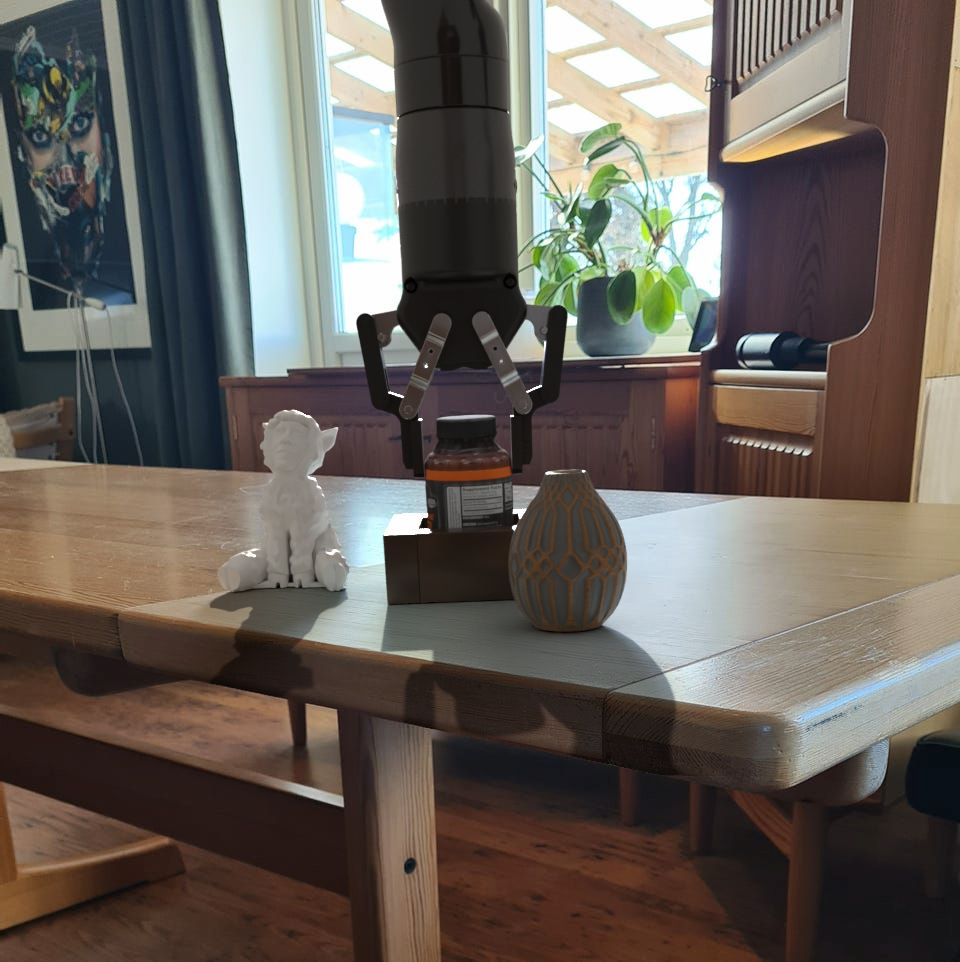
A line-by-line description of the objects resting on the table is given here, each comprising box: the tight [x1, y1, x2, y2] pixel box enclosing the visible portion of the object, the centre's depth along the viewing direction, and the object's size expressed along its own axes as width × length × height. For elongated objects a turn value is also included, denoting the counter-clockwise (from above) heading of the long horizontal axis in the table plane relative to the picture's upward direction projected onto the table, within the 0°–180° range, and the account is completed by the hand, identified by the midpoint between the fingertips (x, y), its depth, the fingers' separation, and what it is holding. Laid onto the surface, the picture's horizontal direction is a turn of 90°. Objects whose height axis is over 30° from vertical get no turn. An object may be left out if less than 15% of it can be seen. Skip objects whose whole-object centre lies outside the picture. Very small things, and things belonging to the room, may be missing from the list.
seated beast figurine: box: [216, 409, 351, 593], centre depth 92 cm, size 10×9×12 cm
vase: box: [508, 469, 628, 633], centre depth 74 cm, size 7×7×9 cm
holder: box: [382, 508, 526, 605], centre depth 89 cm, size 11×11×4 cm
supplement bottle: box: [424, 414, 515, 529], centre depth 88 cm, size 6×6×11 cm
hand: (468, 474), depth 87 cm, fingers open, 6 cm apart
